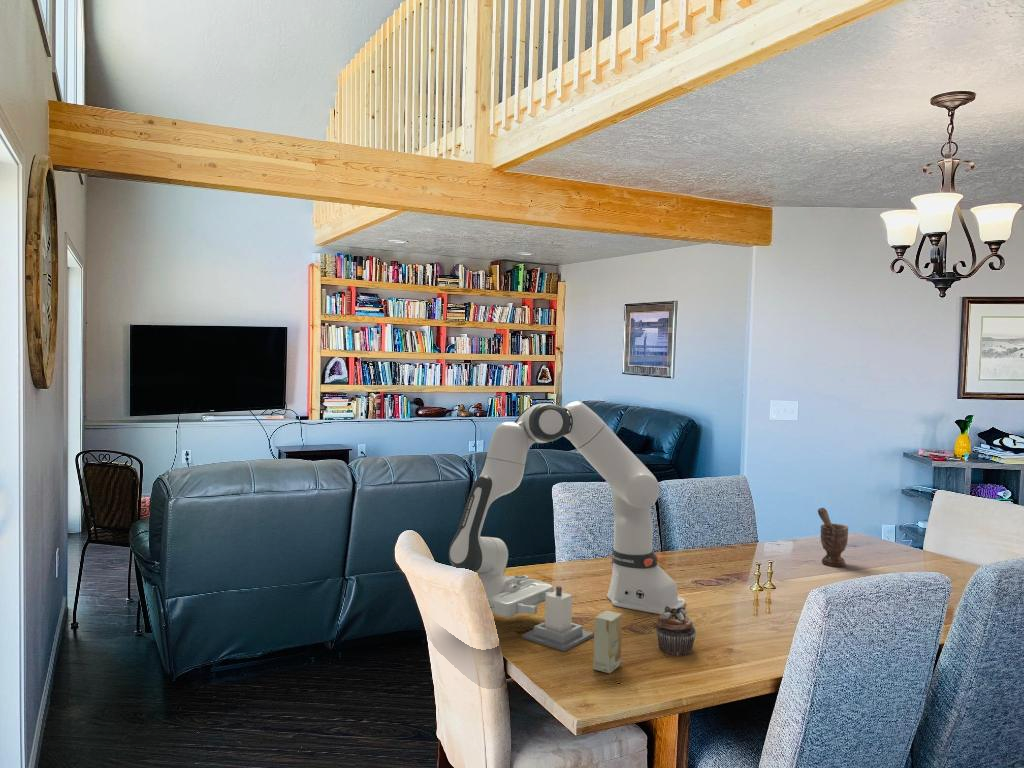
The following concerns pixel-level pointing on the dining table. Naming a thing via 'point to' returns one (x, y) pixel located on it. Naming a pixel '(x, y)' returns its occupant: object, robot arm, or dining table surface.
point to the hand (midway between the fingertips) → (546, 605)
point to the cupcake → (675, 632)
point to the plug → (558, 611)
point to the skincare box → (607, 641)
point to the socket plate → (558, 636)
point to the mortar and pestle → (832, 540)
